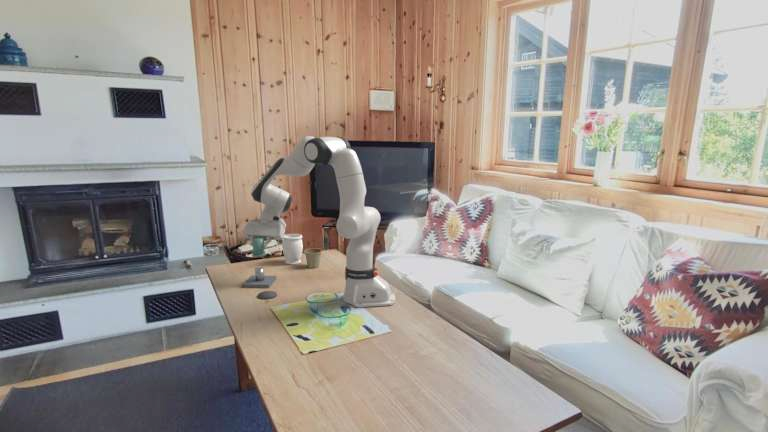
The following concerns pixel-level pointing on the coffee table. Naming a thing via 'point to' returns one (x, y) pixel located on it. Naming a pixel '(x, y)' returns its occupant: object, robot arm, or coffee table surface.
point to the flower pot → (313, 257)
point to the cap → (258, 247)
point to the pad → (267, 295)
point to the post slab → (259, 282)
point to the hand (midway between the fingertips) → (257, 245)
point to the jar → (292, 248)
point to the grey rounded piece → (259, 274)
